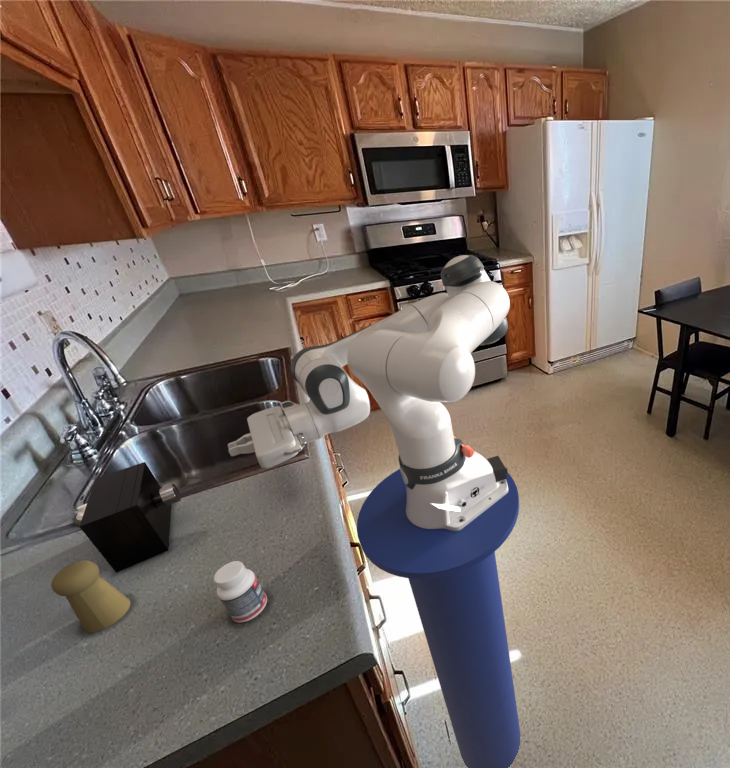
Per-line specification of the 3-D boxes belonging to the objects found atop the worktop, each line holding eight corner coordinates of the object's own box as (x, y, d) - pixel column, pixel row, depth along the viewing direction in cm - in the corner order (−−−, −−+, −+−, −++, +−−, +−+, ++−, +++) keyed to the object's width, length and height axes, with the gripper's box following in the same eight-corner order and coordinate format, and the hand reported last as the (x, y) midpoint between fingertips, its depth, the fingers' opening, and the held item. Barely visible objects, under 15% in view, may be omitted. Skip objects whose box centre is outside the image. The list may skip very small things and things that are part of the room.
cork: (96, 604, 71) (57, 561, 65) (137, 592, 72) (103, 549, 67) (75, 638, 65) (32, 593, 60) (120, 624, 67) (81, 580, 62)
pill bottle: (272, 606, 68) (252, 570, 64) (237, 630, 65) (213, 594, 60) (262, 587, 71) (242, 551, 67) (228, 608, 68) (205, 573, 64)
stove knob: (75, 513, 92) (67, 504, 90) (117, 496, 96) (110, 487, 94) (73, 531, 87) (65, 521, 85) (118, 512, 91) (111, 502, 89)
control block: (171, 504, 92) (145, 461, 86) (168, 550, 80) (137, 504, 74) (126, 521, 88) (95, 478, 82) (116, 573, 76) (79, 526, 71)
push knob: (181, 493, 87) (173, 480, 85) (181, 504, 84) (172, 489, 82) (150, 505, 84) (141, 491, 82) (149, 516, 81) (139, 502, 80)
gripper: (312, 458, 88) (239, 488, 81) (294, 419, 103) (231, 441, 96) (303, 434, 85) (226, 462, 78) (286, 397, 100) (220, 418, 93)
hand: (229, 450), depth 87 cm, fingers closed
